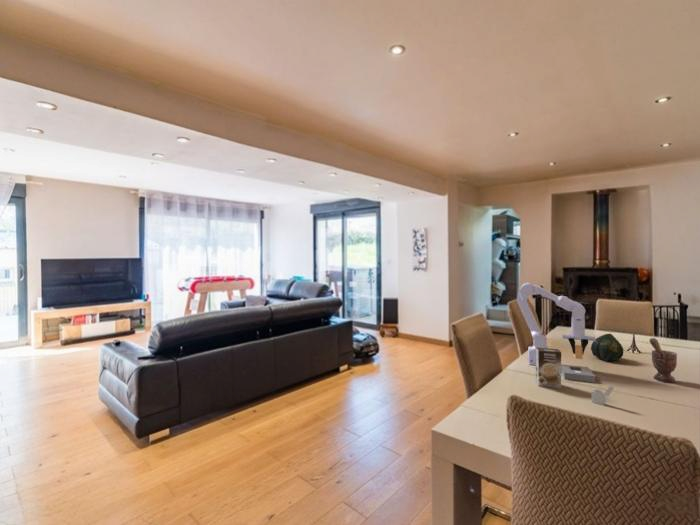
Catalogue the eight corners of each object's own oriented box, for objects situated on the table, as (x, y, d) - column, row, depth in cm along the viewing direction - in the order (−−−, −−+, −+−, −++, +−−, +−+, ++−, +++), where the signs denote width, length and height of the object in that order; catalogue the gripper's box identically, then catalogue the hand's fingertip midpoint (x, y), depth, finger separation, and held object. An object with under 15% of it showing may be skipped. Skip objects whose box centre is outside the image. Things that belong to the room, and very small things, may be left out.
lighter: (591, 402, 136) (591, 382, 136) (592, 400, 138) (592, 380, 137) (613, 407, 131) (613, 386, 131) (614, 406, 132) (614, 385, 132)
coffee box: (538, 386, 153) (537, 350, 153) (535, 381, 159) (535, 347, 159) (561, 388, 150) (561, 352, 150) (558, 383, 156) (557, 348, 156)
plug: (575, 358, 175) (575, 346, 175) (573, 356, 179) (573, 344, 179) (582, 359, 174) (582, 347, 174) (580, 356, 178) (580, 345, 178)
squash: (589, 351, 189) (610, 332, 186) (582, 345, 203) (602, 327, 199) (612, 370, 185) (635, 351, 181) (604, 363, 199) (625, 345, 195)
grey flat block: (564, 379, 162) (564, 372, 162) (559, 370, 175) (559, 363, 175) (595, 382, 157) (595, 375, 157) (587, 373, 170) (587, 366, 170)
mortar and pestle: (671, 386, 152) (671, 341, 151) (646, 380, 159) (646, 337, 159) (679, 381, 158) (679, 337, 158) (655, 375, 165) (655, 334, 165)
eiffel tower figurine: (651, 353, 204) (651, 331, 204) (649, 357, 197) (649, 333, 197) (620, 348, 215) (620, 327, 215) (617, 352, 208) (617, 330, 208)
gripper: (562, 327, 176) (562, 354, 176) (597, 329, 170) (597, 357, 170) (560, 325, 182) (560, 350, 182) (593, 327, 176) (593, 353, 176)
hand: (578, 353), depth 176 cm, fingers closed on plug, 3 cm apart
